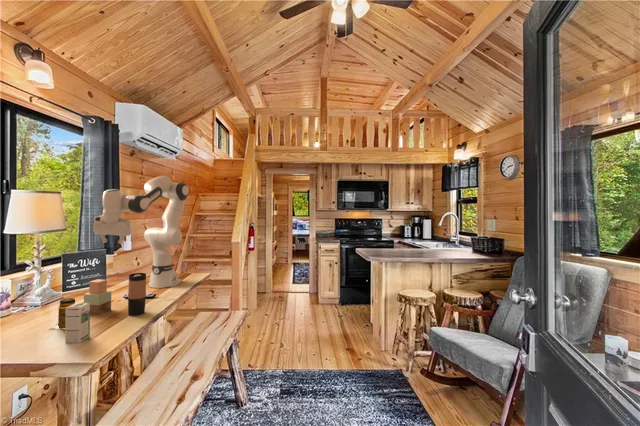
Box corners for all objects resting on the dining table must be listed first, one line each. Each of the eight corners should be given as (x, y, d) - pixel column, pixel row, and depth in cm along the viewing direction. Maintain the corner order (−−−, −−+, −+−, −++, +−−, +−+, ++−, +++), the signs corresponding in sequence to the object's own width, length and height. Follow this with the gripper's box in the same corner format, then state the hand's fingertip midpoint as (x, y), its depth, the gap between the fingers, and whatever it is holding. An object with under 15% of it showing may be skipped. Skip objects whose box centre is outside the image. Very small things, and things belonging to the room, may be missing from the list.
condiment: (71, 328, 133) (71, 301, 133) (48, 329, 131) (49, 302, 131) (80, 322, 140) (81, 296, 140) (58, 323, 138) (59, 297, 138)
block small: (97, 290, 156) (98, 279, 156) (106, 291, 156) (106, 279, 156) (89, 293, 151) (89, 281, 151) (98, 294, 151) (98, 282, 151)
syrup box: (80, 343, 121) (81, 307, 120) (64, 343, 120) (65, 306, 120) (89, 336, 126) (90, 302, 126) (74, 336, 126) (75, 302, 125)
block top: (97, 299, 158) (97, 289, 158) (111, 300, 157) (111, 290, 157) (83, 304, 150) (83, 294, 150) (98, 305, 149) (98, 295, 149)
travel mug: (142, 310, 159) (144, 272, 159) (147, 314, 154) (148, 275, 153) (125, 313, 154) (127, 274, 153) (129, 317, 148) (130, 277, 148)
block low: (97, 308, 158) (97, 299, 158) (110, 310, 157) (111, 300, 157) (83, 314, 150) (83, 304, 150) (97, 315, 149) (98, 305, 149)
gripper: (133, 218, 170) (133, 243, 171) (100, 216, 173) (100, 241, 173) (125, 219, 164) (125, 244, 165) (91, 217, 166) (91, 242, 167)
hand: (112, 242), depth 169 cm, fingers open, 8 cm apart
